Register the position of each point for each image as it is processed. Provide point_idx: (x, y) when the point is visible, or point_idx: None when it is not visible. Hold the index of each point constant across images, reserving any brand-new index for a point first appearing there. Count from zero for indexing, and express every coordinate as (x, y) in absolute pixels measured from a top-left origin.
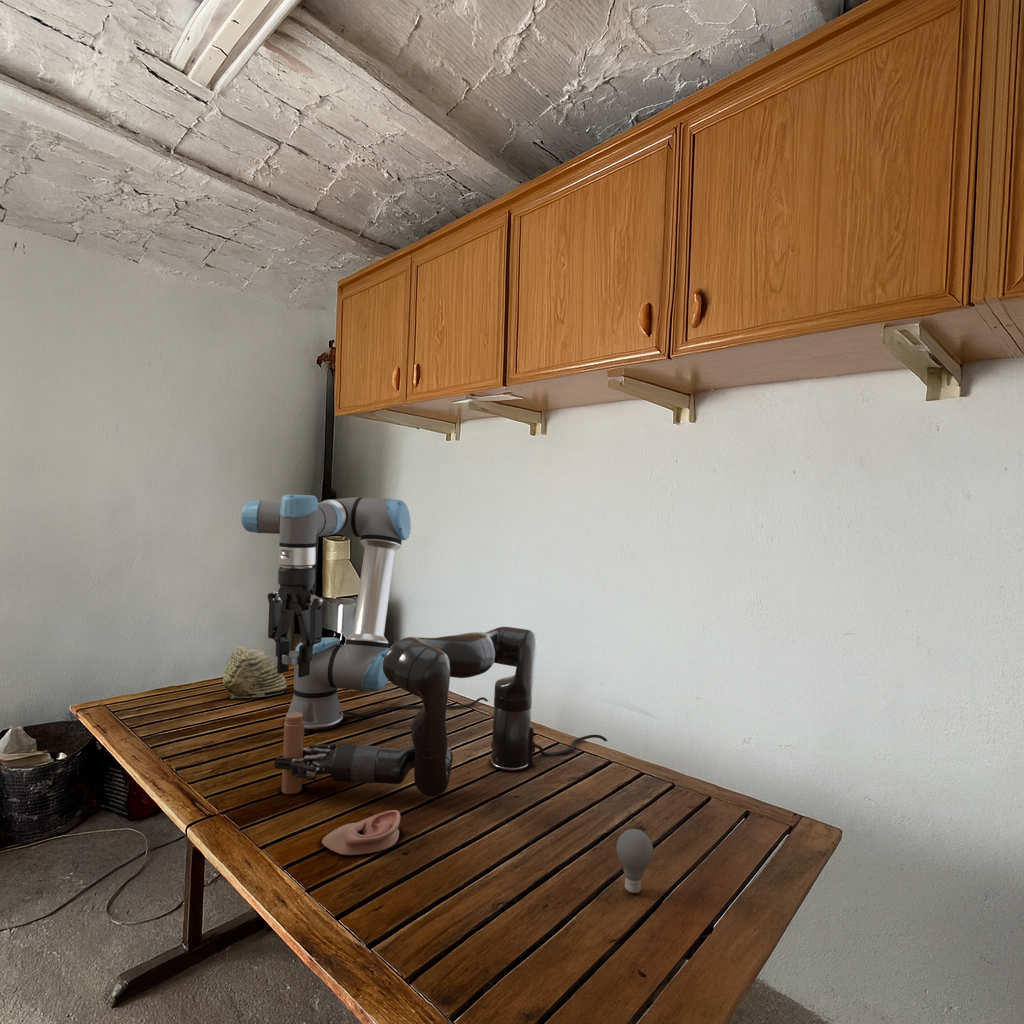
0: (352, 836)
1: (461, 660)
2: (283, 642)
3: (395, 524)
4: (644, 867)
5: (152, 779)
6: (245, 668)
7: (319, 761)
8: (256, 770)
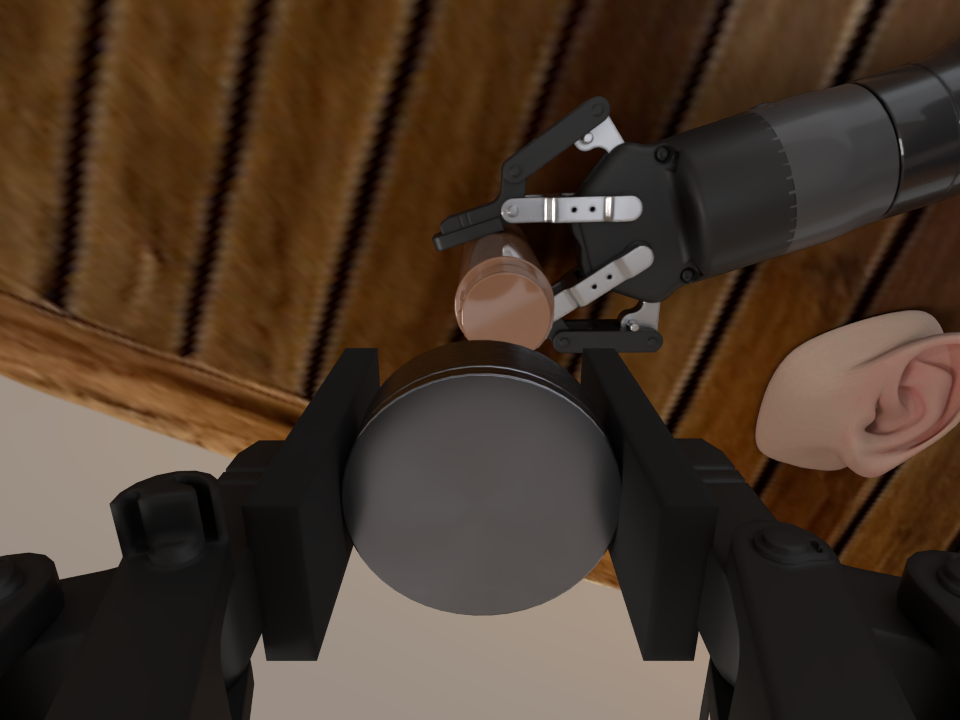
0: (871, 466)
1: None
2: (284, 597)
3: None
4: None
5: (71, 384)
6: None
7: (640, 284)
8: (279, 184)
